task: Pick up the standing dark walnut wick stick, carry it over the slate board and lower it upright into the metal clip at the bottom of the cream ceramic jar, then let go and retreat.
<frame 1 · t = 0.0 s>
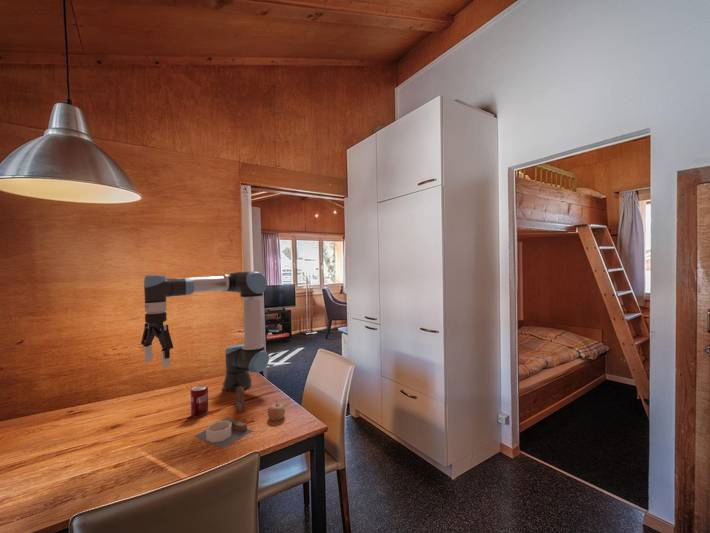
hand: (157, 364, 130), 28 cm above the table, fingers open, 13 cm apart
fruit: (276, 420, 138), on the table
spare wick: (234, 427, 130), point 1 cm above the table, touching slate board
soda can: (199, 414, 146), on the table
slate board: (224, 435, 126), on the table
jar: (219, 435, 124), resting on slate board
wick: (240, 413, 145), on the table
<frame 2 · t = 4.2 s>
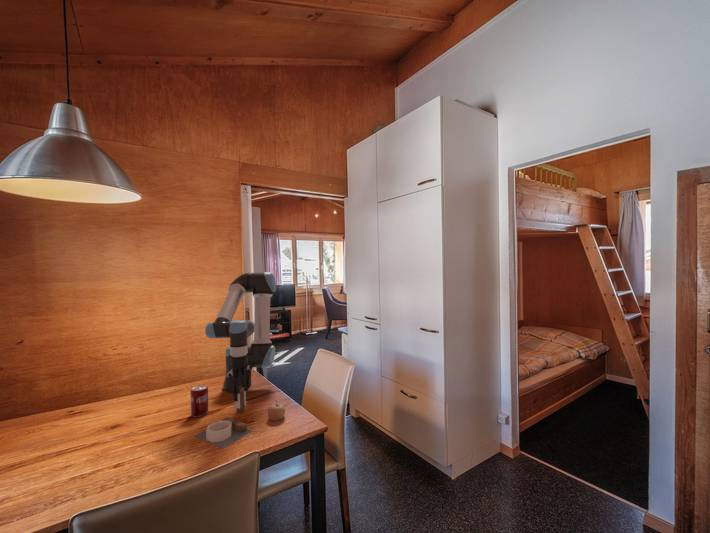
hand: (240, 406, 145), 4 cm above the table, fingers closed on wick, 2 cm apart
wick: (240, 413, 145), on the table, touching gripper
everything else where it was.
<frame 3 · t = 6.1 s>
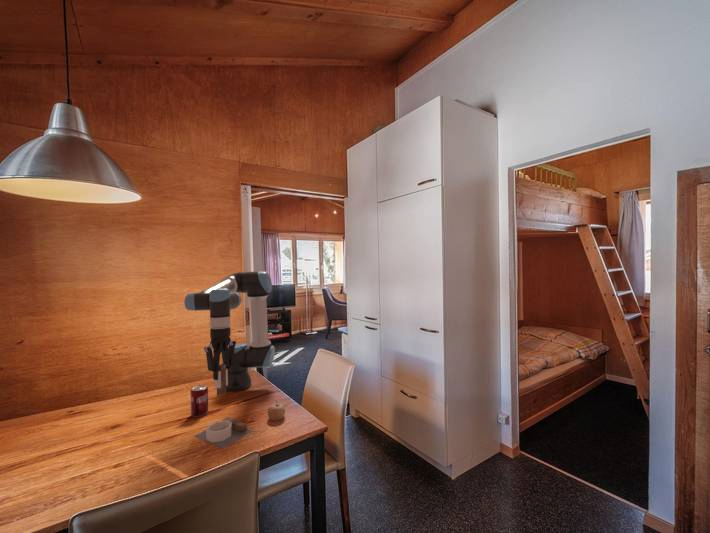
hand: (221, 386, 127), 20 cm above the table, fingers closed on wick, 2 cm apart
wick: (221, 394, 127), point 16 cm above the table, touching gripper
everything else where it was.
when the fingers open (6 cm above the table, at t = 8.2 s): wick drops 1 cm, resting on jar.
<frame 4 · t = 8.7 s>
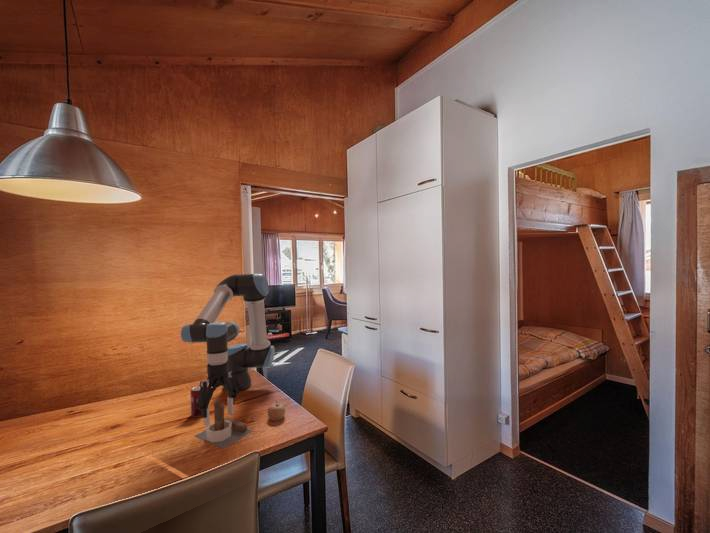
hand: (219, 419, 124), 7 cm above the table, fingers open, 10 cm apart
wick: (219, 433, 124), point 2 cm above the table, touching jar
everything else where it was.
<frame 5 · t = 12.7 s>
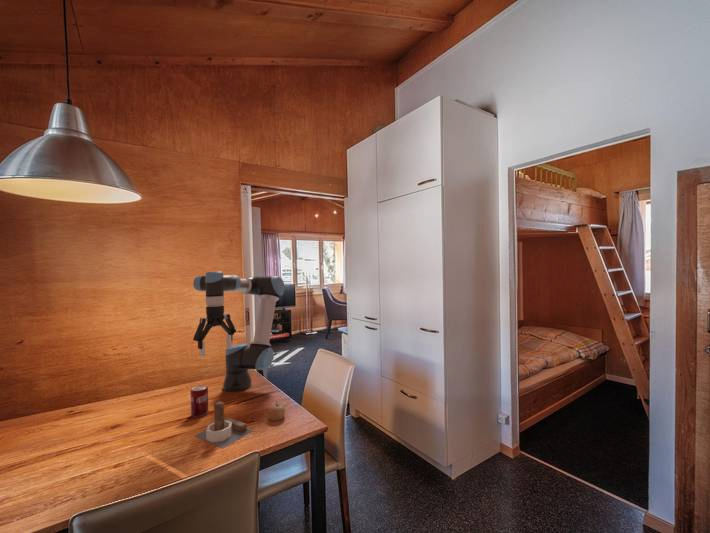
hand: (216, 352, 144), 29 cm above the table, fingers open, 13 cm apart
nothing on the table moved.
at the end: wick 0.1 cm off-centre on the jar, point 0.8 cm above the jar's base; wick tilted 0°; the gripper is holding nothing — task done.
